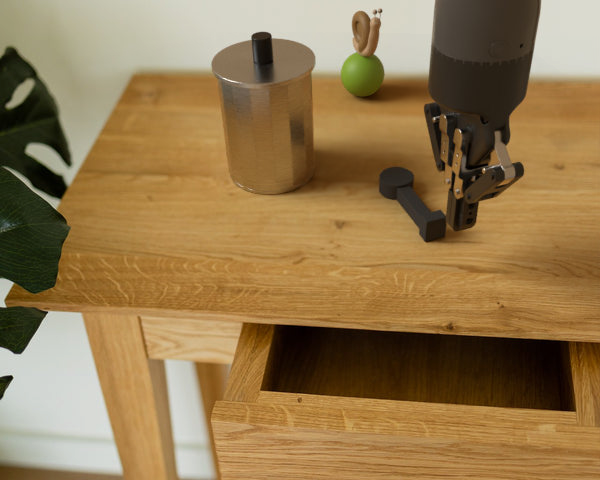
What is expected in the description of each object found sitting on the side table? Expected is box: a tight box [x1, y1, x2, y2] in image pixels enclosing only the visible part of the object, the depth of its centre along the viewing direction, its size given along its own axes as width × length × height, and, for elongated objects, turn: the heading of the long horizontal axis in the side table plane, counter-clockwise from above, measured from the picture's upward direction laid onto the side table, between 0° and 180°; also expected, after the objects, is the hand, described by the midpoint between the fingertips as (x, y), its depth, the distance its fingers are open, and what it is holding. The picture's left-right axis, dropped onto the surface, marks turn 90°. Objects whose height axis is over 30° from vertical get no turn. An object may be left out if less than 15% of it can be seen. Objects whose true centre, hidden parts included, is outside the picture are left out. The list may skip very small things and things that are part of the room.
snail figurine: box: [340, 7, 385, 98], centre depth 92 cm, size 5×6×12 cm
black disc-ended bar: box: [378, 166, 448, 242], centre depth 77 cm, size 4×11×2 cm, turn 19°
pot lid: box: [210, 31, 316, 89], centre depth 75 cm, size 10×10×4 cm
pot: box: [216, 72, 316, 195], centre depth 80 cm, size 9×9×12 cm
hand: (459, 225), depth 68 cm, fingers closed
